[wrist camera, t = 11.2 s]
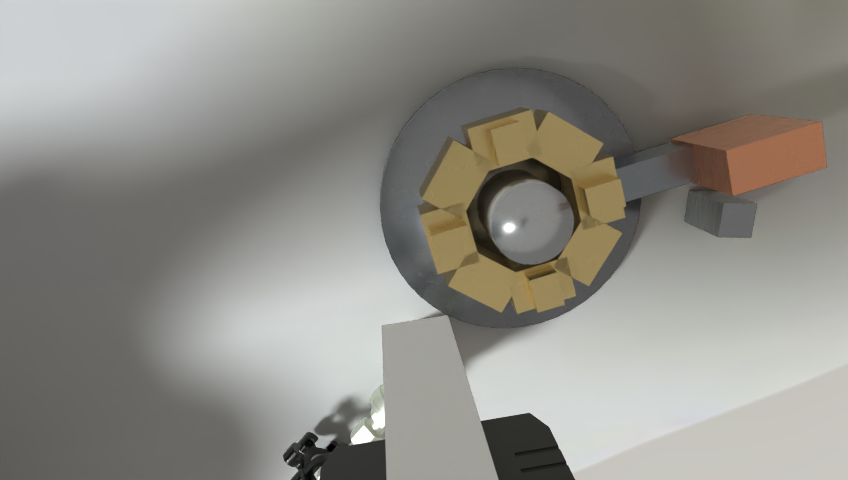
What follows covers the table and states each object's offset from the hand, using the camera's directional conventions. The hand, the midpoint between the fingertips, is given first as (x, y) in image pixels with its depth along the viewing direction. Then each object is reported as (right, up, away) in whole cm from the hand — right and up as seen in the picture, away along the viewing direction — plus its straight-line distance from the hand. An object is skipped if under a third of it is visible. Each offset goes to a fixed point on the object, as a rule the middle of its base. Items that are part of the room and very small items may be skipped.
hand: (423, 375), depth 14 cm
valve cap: (+5, +5, +24) cm, 25 cm away
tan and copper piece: (+10, +6, +23) cm, 26 cm away
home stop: (+18, +5, +25) cm, 31 cm away
